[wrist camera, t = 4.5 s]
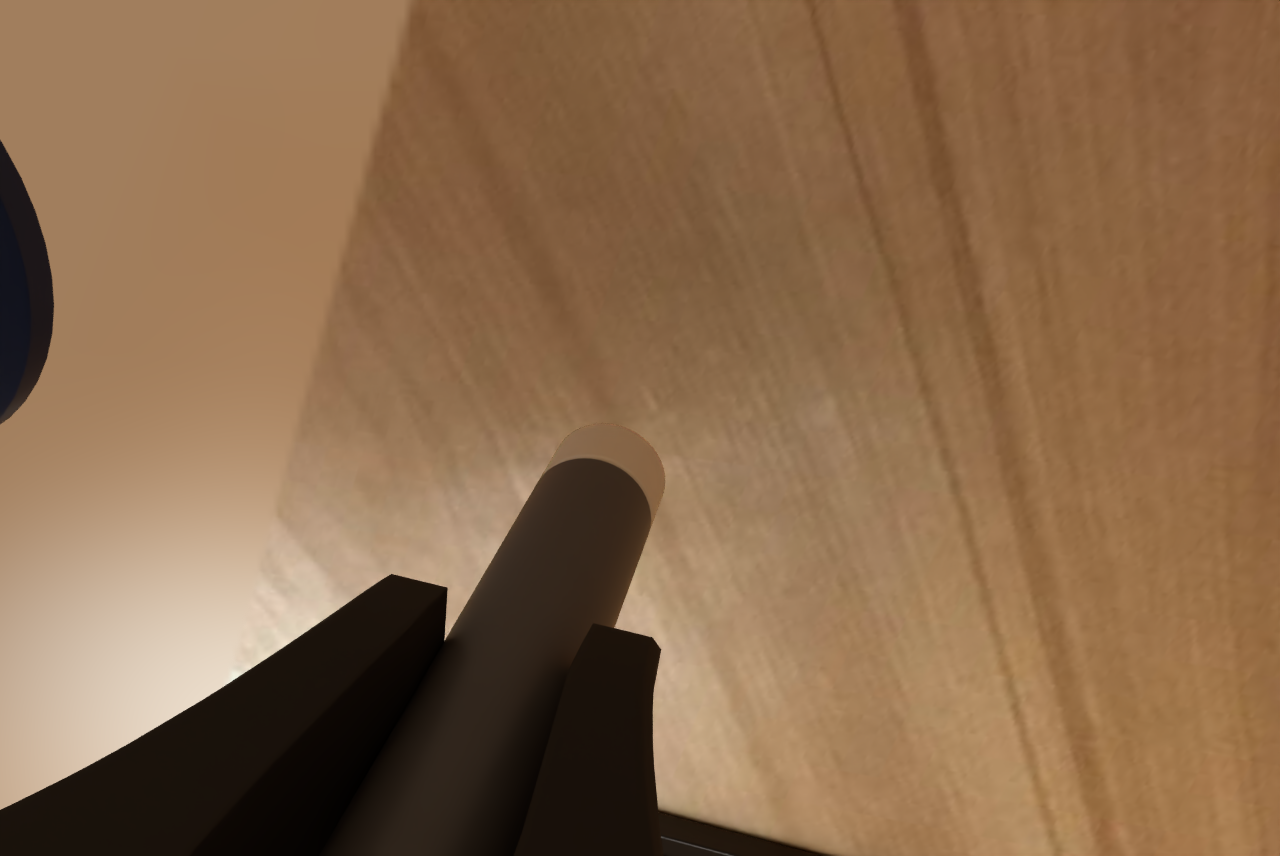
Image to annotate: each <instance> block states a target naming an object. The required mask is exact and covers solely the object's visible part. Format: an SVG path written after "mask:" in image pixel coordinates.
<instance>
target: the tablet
mask: <svg viewBox="0 0 1280 856" xmlns="http://www.w3.org/2000/svg"><path fill="white" fill-rule="evenodd" d="M658 815H659V824H660V832H661V840H662V847H663V855H664V856H821V855H817V854H813V853H809V852H806V851H802V850H798V849H794V848H791V847H787V846H783V845H779V844H776V843H772V842H768V841H764V840H761V839H757V838H753V837H749V836H746V835H742V834H738V833H734V832H730V831H727V830H723V829H719V828H715V827H712V826H708V825H704V824H700V823H697V822H693V821H689V820H685V819H682V818H678V817H674V816H670V815H667V814H663V813H659V812H658Z"/></svg>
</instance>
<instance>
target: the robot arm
mask: <svg viewBox="0 0 1280 856" xmlns="http://www.w3.org/2000/svg"><path fill="white" fill-rule="evenodd" d="M446 604H447V587H443V586H439V585H434V584H430V583H426V582H422V581H418V580H414V579H410V578H406V577H402V576H397V575H393V574H391V575H389V576H387V577H386V578H384V579H382V580H381V581H379V582H378V583H376V584H375V585H373V586H372V587H370V588H369V589H367V590H366V591H364V592H363V593H362V594H360V595H359V596H357V597H356V598H354V599H353V600H352V601H350V602H349V603H347V604H346V605H344V606H343V607H341V608H340V609H339V610H337V611H336V612H334V613H333V614H331V615H330V616H329V617H327V618H326V619H324V620H323V621H321V622H320V623H319V624H317V625H316V626H314V627H313V628H311V629H310V630H308V631H307V632H305V633H304V634H303V635H301V636H300V637H298V638H297V639H295V640H294V641H292V642H291V643H289V644H288V645H286V646H285V647H284V648H282V649H281V650H279V651H277V652H276V653H274V654H273V655H271V656H270V657H268V658H267V659H265V660H264V661H262V662H261V663H259V664H258V665H256V666H255V667H253V668H252V669H250V670H248V671H247V672H245V673H244V674H242V675H241V676H239V677H238V678H236V679H235V680H233V681H232V682H230V683H229V684H227V685H226V686H224V687H222V688H221V689H219V690H218V691H216V692H215V693H213V694H211V695H210V696H208V697H207V698H205V699H203V700H202V701H200V702H198V703H197V704H195V705H194V706H192V707H190V708H188V709H187V710H185V711H183V712H182V713H180V714H178V715H176V716H175V717H173V718H172V719H170V720H168V721H166V722H165V723H163V724H161V725H160V726H158V727H156V728H154V729H153V730H151V731H150V732H148V733H146V734H144V735H143V736H141V737H139V738H138V739H136V740H134V741H133V742H131V743H129V744H127V745H126V746H124V747H122V748H120V749H119V750H117V751H115V752H113V753H111V754H109V755H107V756H106V757H104V758H102V759H100V760H98V761H96V762H95V763H93V764H91V765H89V766H87V767H86V768H83V769H82V770H80V771H78V772H76V773H74V774H72V775H70V776H68V777H67V778H64V779H62V780H60V781H58V782H56V783H54V784H53V785H50V786H48V787H46V788H44V789H42V790H40V791H39V792H36V793H34V794H32V795H30V796H28V797H26V798H24V799H22V800H20V801H18V802H16V803H14V804H12V805H10V806H8V807H5V808H3V809H1V810H0V856H319V855H320V853H321V851H322V849H323V848H324V846H325V844H326V843H327V841H328V839H329V838H330V836H331V834H332V832H333V831H334V829H335V827H336V826H337V824H338V822H339V820H340V819H341V817H342V815H343V814H344V812H345V810H346V809H347V807H348V805H349V803H350V802H351V800H352V798H353V797H354V795H355V793H356V791H357V790H358V788H359V786H360V785H361V783H362V781H363V780H364V778H365V776H366V774H367V773H368V771H369V769H370V768H371V766H372V764H373V762H374V761H375V759H376V757H377V756H378V754H379V752H380V751H381V749H382V747H383V745H384V744H385V742H386V740H387V739H388V737H389V735H390V733H391V732H392V730H393V728H394V727H395V725H396V723H397V722H398V720H399V718H400V716H401V715H402V713H403V711H404V710H405V708H406V706H407V704H408V703H409V701H410V699H411V698H412V696H413V694H414V693H415V691H416V689H417V687H418V686H419V684H420V682H421V681H422V679H423V677H424V675H425V674H426V672H427V670H428V669H429V667H430V665H431V664H432V662H433V660H434V658H435V657H436V655H437V653H438V652H439V650H440V648H441V646H442V645H443V643H444V637H445V621H446ZM660 653H661V649H660V647H659V646H658V645H657V643H656V642H655V640H654V639H653V638H652V637H648V636H644V635H640V634H636V633H632V632H628V631H624V630H620V629H615V628H611V627H607V626H603V625H599V624H595V623H593V624H592V626H591V628H590V629H589V631H588V633H587V635H586V637H585V638H584V640H583V642H582V644H581V646H580V648H579V650H578V652H577V654H576V656H575V658H574V660H573V662H572V664H571V666H570V668H569V671H568V674H567V677H566V681H565V684H564V688H563V691H562V694H561V698H560V701H559V705H558V708H557V712H556V715H555V719H554V722H553V726H552V729H551V733H550V736H549V740H548V743H547V747H546V750H545V754H544V757H543V761H542V764H541V768H540V771H539V775H538V778H537V782H536V785H535V789H534V792H533V796H532V799H531V803H530V806H529V810H528V813H527V817H526V820H525V824H524V827H523V830H522V833H521V836H520V839H519V842H518V845H517V847H516V850H515V853H514V856H664V855H663V847H662V840H661V832H660V824H659V815H658V804H657V793H656V783H655V772H654V757H653V692H654V685H655V680H656V674H657V669H658V664H659V658H660Z"/></svg>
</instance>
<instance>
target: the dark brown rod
mask: <svg viewBox="0 0 1280 856" xmlns="http://www.w3.org/2000/svg"><path fill="white" fill-rule="evenodd" d="M664 489H665V473H664V468H663V465H662V462H661V460H660V458H659V456H658V454H657V453H656V451H655V450H654V448H653V447H652V446H651V445H650V444H649V443H648V442H647V441H646V440H645V439H644V438H643V437H641V436H640V435H639V434H637V433H635V432H634V431H632V430H630V429H627V428H625V427H622V426H618V425H614V424H593V425H588V426H584V427H582V428H579V429H577V430H575V431H573V432H572V433H571V434H569V435H568V436H567V437H566V438H565V439H564V440H563V441H562V442H561V444H560V445H559V447H558V449H557V450H556V452H555V454H554V455H553V457H552V459H551V461H550V462H549V464H548V466H547V467H546V469H545V471H544V472H543V474H542V476H541V478H540V480H539V481H538V483H537V484H536V486H535V488H534V490H533V491H532V493H531V495H530V496H529V498H528V500H527V501H526V503H525V505H524V507H523V508H522V510H521V512H520V513H519V515H518V517H517V519H516V520H515V522H514V524H513V525H512V527H511V529H510V530H509V532H508V534H507V536H506V537H505V539H504V541H503V542H502V544H501V546H500V548H499V549H498V551H497V553H496V554H495V556H494V558H493V559H492V561H491V563H490V565H489V566H488V568H487V570H486V571H485V573H484V575H483V577H482V578H481V580H480V582H479V583H478V585H477V587H476V588H475V590H474V592H473V594H472V595H471V597H470V599H469V600H468V602H467V604H466V606H465V607H464V609H463V611H462V612H461V614H460V616H459V617H458V619H457V621H456V623H455V624H454V626H453V628H452V629H451V631H450V633H449V635H448V636H447V638H446V640H445V641H444V643H443V645H442V646H441V648H440V650H439V652H438V653H437V655H436V657H435V658H434V660H433V662H432V664H431V665H430V667H429V669H428V670H427V672H426V674H425V675H424V677H423V679H422V681H421V682H420V684H419V686H418V687H417V689H416V691H415V693H414V694H413V696H412V698H411V699H410V701H409V703H408V704H407V706H406V708H405V710H404V711H403V713H402V715H401V716H400V718H399V720H398V722H397V723H396V725H395V727H394V728H393V730H392V732H391V733H390V735H389V737H388V739H387V740H386V742H385V744H384V745H383V747H382V749H381V751H380V752H379V754H378V756H377V757H376V759H375V761H374V762H373V764H372V766H371V768H370V769H369V771H368V773H367V774H366V776H365V778H364V780H363V781H362V783H361V785H360V786H359V788H358V790H357V791H356V793H355V795H354V797H353V798H352V800H351V802H350V803H349V805H348V807H347V809H346V810H345V812H344V814H343V815H342V817H341V819H340V820H339V822H338V824H337V826H336V827H335V829H334V831H333V832H332V834H331V836H330V838H329V839H328V841H327V843H326V844H325V846H324V848H323V849H322V851H321V853H320V855H319V856H514V853H515V850H516V847H517V845H518V842H519V839H520V836H521V833H522V830H523V827H524V824H525V820H526V817H527V813H528V810H529V806H530V803H531V799H532V796H533V792H534V789H535V785H536V782H537V778H538V775H539V771H540V768H541V764H542V761H543V757H544V754H545V750H546V747H547V743H548V740H549V736H550V733H551V729H552V726H553V722H554V719H555V715H556V712H557V708H558V705H559V701H560V698H561V694H562V691H563V688H564V684H565V681H566V677H567V674H568V671H569V668H570V666H571V664H572V662H573V660H574V658H575V656H576V654H577V652H578V650H579V648H580V646H581V644H582V642H583V640H584V638H585V637H586V635H587V633H588V631H589V629H590V628H591V626H592V624H593V623H595V624H599V625H603V626H607V627H611V628H614V627H615V624H616V622H617V619H618V616H619V613H620V611H621V608H622V605H623V602H624V600H625V597H626V594H627V592H628V589H629V586H630V583H631V581H632V578H633V575H634V572H635V570H636V567H637V564H638V561H639V559H640V556H641V553H642V551H643V548H644V545H645V542H646V540H647V537H648V534H649V531H650V528H651V526H652V523H653V520H654V518H655V515H656V512H657V510H658V507H659V504H660V501H661V499H662V496H663V493H664Z"/></svg>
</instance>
